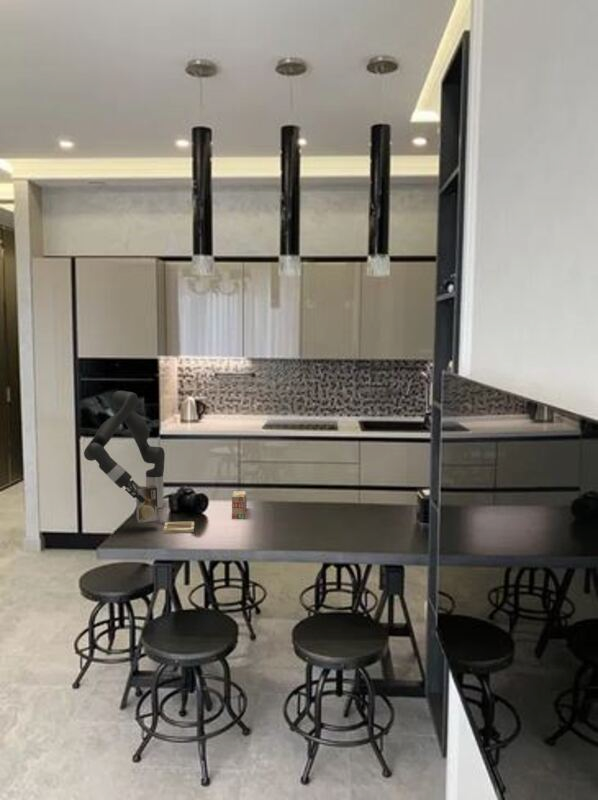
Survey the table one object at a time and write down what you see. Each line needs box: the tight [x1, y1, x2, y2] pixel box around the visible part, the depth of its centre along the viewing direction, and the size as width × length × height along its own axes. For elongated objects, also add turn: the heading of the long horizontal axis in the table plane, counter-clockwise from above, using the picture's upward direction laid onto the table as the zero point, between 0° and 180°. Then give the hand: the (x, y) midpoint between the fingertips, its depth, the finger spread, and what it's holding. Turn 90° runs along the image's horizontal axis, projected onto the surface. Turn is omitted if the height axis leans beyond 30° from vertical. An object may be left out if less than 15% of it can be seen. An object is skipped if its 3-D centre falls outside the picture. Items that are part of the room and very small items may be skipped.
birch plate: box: [162, 520, 195, 534], centre depth 295 cm, size 14×14×2 cm
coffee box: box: [135, 485, 159, 523], centre depth 293 cm, size 9×6×16 cm
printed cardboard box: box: [231, 490, 248, 520], centre depth 323 cm, size 21×6×12 cm, turn 1°
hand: (144, 499), depth 292 cm, fingers closed on coffee box, 7 cm apart
